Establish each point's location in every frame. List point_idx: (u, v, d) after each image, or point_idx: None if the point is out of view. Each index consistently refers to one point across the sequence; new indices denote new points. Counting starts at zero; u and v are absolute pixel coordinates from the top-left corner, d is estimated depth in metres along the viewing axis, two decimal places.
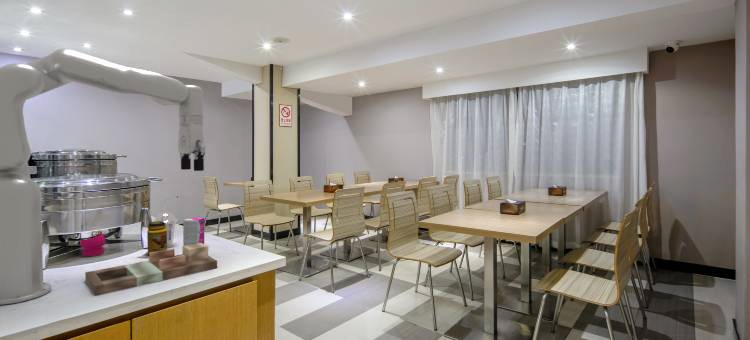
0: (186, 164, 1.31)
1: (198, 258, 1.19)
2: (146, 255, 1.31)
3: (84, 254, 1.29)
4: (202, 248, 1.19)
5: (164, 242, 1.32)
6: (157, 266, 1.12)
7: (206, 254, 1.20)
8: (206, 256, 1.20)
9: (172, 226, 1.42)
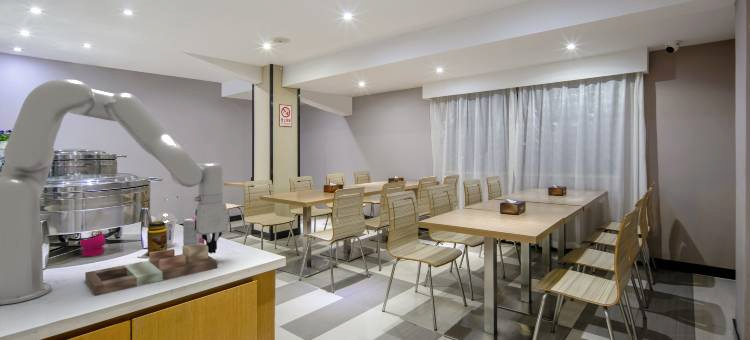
0: None
1: (198, 258, 1.19)
2: (146, 255, 1.31)
3: (84, 254, 1.29)
4: (202, 248, 1.19)
5: (164, 242, 1.31)
6: (157, 266, 1.12)
7: (206, 254, 1.20)
8: (206, 256, 1.20)
9: (172, 226, 1.42)
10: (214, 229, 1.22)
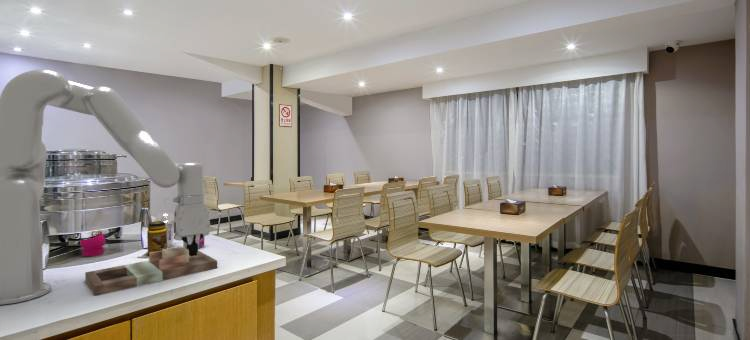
0: None
1: None
2: (146, 255, 1.31)
3: (84, 254, 1.29)
4: (182, 252, 1.15)
5: (164, 242, 1.32)
6: (157, 266, 1.12)
7: (186, 258, 1.16)
8: (186, 260, 1.16)
9: (172, 226, 1.42)
10: (194, 231, 1.18)
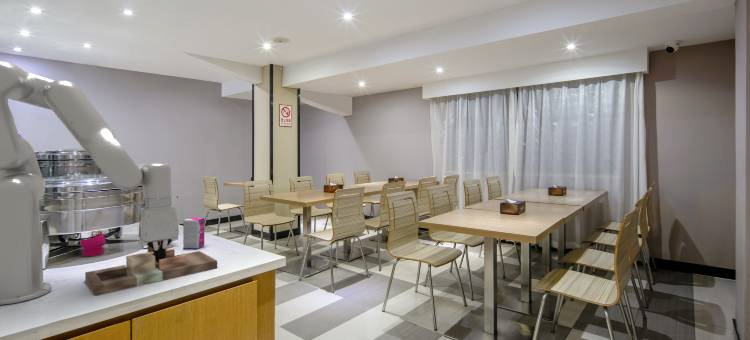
0: None
1: (143, 269, 1.07)
2: None
3: (84, 254, 1.29)
4: (147, 258, 1.08)
5: None
6: (157, 266, 1.12)
7: (152, 265, 1.09)
8: (152, 267, 1.09)
9: None
10: (161, 236, 1.11)
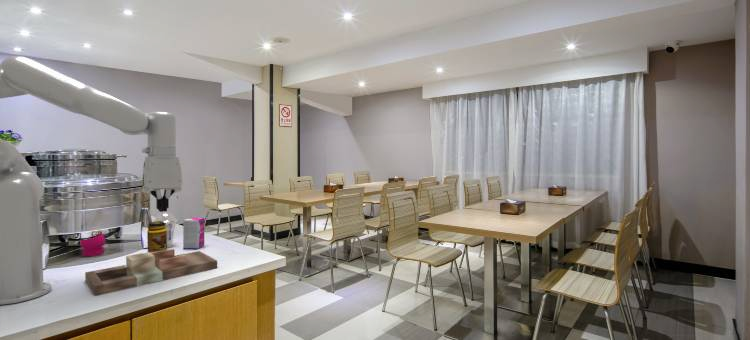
0: None
1: (143, 269, 1.07)
2: None
3: (84, 254, 1.29)
4: (147, 258, 1.08)
5: (164, 242, 1.32)
6: (157, 266, 1.12)
7: (152, 265, 1.09)
8: (152, 267, 1.09)
9: (172, 226, 1.42)
10: (164, 184, 1.11)
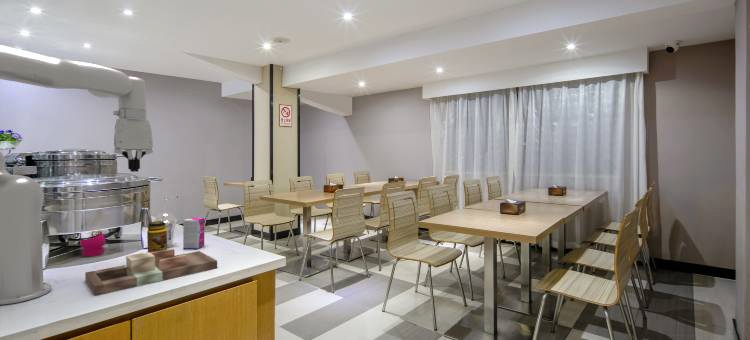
0: None
1: (143, 269, 1.07)
2: None
3: (84, 254, 1.29)
4: (147, 258, 1.08)
5: (164, 242, 1.31)
6: (157, 266, 1.12)
7: (152, 265, 1.09)
8: (152, 267, 1.09)
9: (172, 226, 1.42)
10: (135, 145, 1.18)
